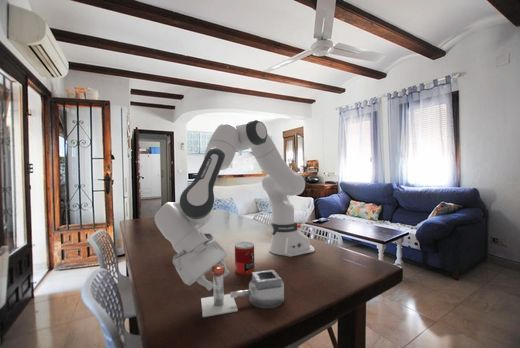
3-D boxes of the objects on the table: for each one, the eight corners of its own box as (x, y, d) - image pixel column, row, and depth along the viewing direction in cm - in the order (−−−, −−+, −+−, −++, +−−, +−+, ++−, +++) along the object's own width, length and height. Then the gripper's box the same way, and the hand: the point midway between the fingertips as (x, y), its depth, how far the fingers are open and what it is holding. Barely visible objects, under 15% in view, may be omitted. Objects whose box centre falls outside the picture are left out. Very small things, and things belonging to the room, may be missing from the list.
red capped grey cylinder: (224, 299, 78) (223, 264, 78) (225, 305, 75) (225, 269, 75) (211, 301, 77) (211, 266, 77) (213, 308, 74) (212, 271, 74)
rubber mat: (232, 294, 82) (232, 293, 82) (237, 311, 73) (237, 309, 73) (201, 299, 80) (201, 298, 80) (202, 317, 70) (202, 315, 70)
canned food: (247, 277, 95) (247, 248, 95) (231, 272, 100) (230, 245, 99) (258, 270, 102) (257, 243, 102) (242, 266, 106) (242, 240, 106)
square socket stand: (277, 288, 86) (276, 266, 86) (289, 305, 75) (289, 280, 75) (227, 296, 81) (227, 273, 81) (233, 315, 71) (233, 288, 71)
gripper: (176, 250, 68) (208, 291, 65) (213, 232, 87) (240, 262, 84) (163, 264, 70) (194, 305, 67) (203, 243, 89) (228, 274, 86)
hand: (220, 281), depth 76 cm, fingers open, 8 cm apart
